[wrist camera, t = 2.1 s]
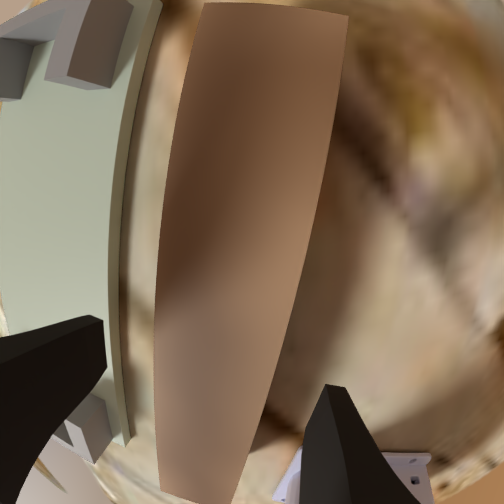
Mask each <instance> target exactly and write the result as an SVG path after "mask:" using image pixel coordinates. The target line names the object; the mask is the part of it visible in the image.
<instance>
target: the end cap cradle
mask: <svg viewBox="0 0 504 504" xmlns="http://www.w3.org/2000/svg"><path fill="white" fill-rule="evenodd" d="M162 7H163V3H162V2H161V1H160V0H48V1H46V2H43V3H41V4H39V5H37V6H35V7H33V8H31V9H29V10H27V11H25V12H23V13H21V14H19V15H17V16H15V17H13V18H12V19H10V20H8V21H6V22H4V23H3V24H1V25H0V101H3V102H2V108H1V113H0V292H1V298H2V303H3V308H4V313H5V318H6V323H7V327H8V331H9V335H14V334H18V333H22V332H27V331H31V330H34V329H38V328H41V327H45V326H48V325H52V324H55V323H58V322H62V321H65V320H69V319H72V318H76V317H80V316H84V315H89V314H90V315H92V316H95V317H97V318H99V319H102V320H103V322H104V336H105V347H106V357H107V366H108V367H107V369H106V370H105V372H104V374H103V375H102V377H101V378H100V380H99V381H98V383H97V384H96V386H95V387H94V388H93V390H92V391H91V392H90V393H89V394H88V395H87V396H86V398H85V399H84V400H83V401H82V402H81V403H80V404H79V405H78V406H77V407H76V409H75V410H74V411H73V412H72V413H71V414H70V415H69V416H68V417H67V419H66V420H65V421H64V422H63V423H62V424H61V425H60V426H59V427H58V429H57V430H56V431H55V432H54V434H53V435H52V436H51V438H52V439H53V440H55V441H56V442H58V443H59V444H61V445H63V446H64V447H66V448H67V449H69V450H70V451H72V452H74V453H76V454H77V455H79V456H80V457H82V458H84V459H85V460H87V461H89V462H91V463H92V464H95V463H96V461H97V460H98V458H99V457H100V456H101V454H102V453H103V452H104V450H105V449H106V447H107V446H108V445H109V443H110V442H111V441H113V442H115V443H117V444H119V445H121V446H123V447H126V445H127V444H128V442H129V441H130V439H131V438H130V431H129V425H128V418H127V411H126V403H125V395H124V386H123V376H122V364H121V350H120V332H119V247H120V229H121V214H122V203H123V192H124V183H125V174H126V166H127V159H128V151H129V145H130V138H131V132H132V126H133V121H134V115H135V110H136V105H137V100H138V95H139V91H140V86H141V82H142V77H143V73H144V69H145V65H146V61H147V57H148V53H149V50H150V46H151V42H152V39H153V35H154V32H155V29H156V25H157V22H158V19H159V16H160V13H161V10H162Z"/></svg>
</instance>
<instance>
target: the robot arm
mask: <svg viewBox="0 0 504 504" xmlns="http://www.w3.org/2000/svg"><path fill="white" fill-rule="evenodd" d="M107 367H108V366H107V357H106V347H105V336H104V322H103V320H102V319H99V318H97V317H95V316H92V315H90V314H89V315H84V316H80V317H76V318H72V319H69V320H65V321H62V322H58V323H55V324H52V325H48V326H45V327H41V328H38V329H34V330H31V331H27V332H22V333H18V334H14V335H10V336H6V337H1V338H0V504H16V501H17V498H18V496H19V493H20V490H21V488H22V486H23V484H24V482H25V480H26V478H27V476H28V474H29V472H30V470H31V468H32V466H33V465H34V463H35V461H36V459H37V458H38V456H39V454H40V453H41V451H42V450H43V448H44V447H45V445H46V444H47V442H48V441H49V439H50V438H51V436H52V435H53V434H54V432H55V431H56V430H57V429H58V427H59V426H60V425H61V424H62V423H63V422H64V421H65V420H66V419H67V417H68V416H69V415H70V414H71V413H72V412H73V411H74V410H75V409H76V407H77V406H78V405H79V404H80V403H81V402H82V401H83V400H84V399H85V398H86V396H87V395H88V394H89V393H90V392H91V391H92V390H93V388H94V387H95V386H96V384H97V383H98V381H99V380H100V378H101V377H102V375H103V374H104V372H105V370H106V369H107ZM430 460H431V454H430V453H389V452H381V451H380V450H379V448H378V447H377V445H376V443H375V441H374V440H373V438H372V436H371V435H370V433H369V431H368V429H367V428H366V426H365V424H364V422H363V420H362V418H361V417H360V415H359V413H358V411H357V409H356V407H355V405H354V403H353V401H352V399H351V397H350V395H349V394H348V392H347V390H346V388H345V387H340V386H334V385H328V384H325V386H324V389H323V391H322V393H321V395H320V398H319V400H318V402H317V404H316V407H315V409H314V411H313V413H312V415H311V418H310V420H309V422H308V424H307V426H306V429H305V435H304V441H303V445H302V446H300V447H299V448H298V450H297V452H296V454H295V456H294V458H293V460H292V461H291V463H290V465H289V467H288V469H287V471H286V472H285V474H284V476H283V478H282V479H281V481H280V483H279V485H278V486H277V488H276V490H275V491H274V493H273V495H272V499H273V500H274V501H278V502H284V503H285V504H435V503H434V498H433V494H432V489H431V485H430V480H429V476H428V472H427V468H426V464H427V463H428V462H429V461H430Z"/></svg>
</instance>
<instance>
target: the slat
mask: <svg viewBox="0 0 504 504" xmlns="http://www.w3.org/2000/svg"><path fill="white" fill-rule="evenodd" d="M348 20H349V16H346V15H341V14H337V13H331V12H326V11H320V10H314V9H308V8H301V7H293V6H284V5H273V4H260V3H231V2H220V3H204V6H203V10H202V13H201V17H200V20H199V24H198V27H197V31H196V35H195V38H194V42H193V46H192V50H191V54H190V58H189V62H188V66H187V71H186V75H185V79H184V84H183V88H182V93H181V98H180V103H179V108H178V113H177V118H176V124H175V129H174V135H173V140H172V146H171V153H170V159H169V165H168V172H167V179H166V187H165V194H164V202H163V211H162V220H161V229H160V239H159V250H158V263H157V277H156V293H155V316H154V409H155V430H156V446H157V459H158V470H159V480H160V489H161V491H163V492H166V493H169V494H172V495H174V496H177V497H180V498H183V499H186V500H189V501H192V502H195V503H199V504H231V501H232V499H233V496H234V493H235V491H236V488H237V485H238V482H239V480H240V477H241V474H242V471H243V468H244V466H245V463H246V460H247V457H248V454H249V451H250V448H251V445H252V442H253V439H254V436H255V433H256V430H257V427H258V424H259V421H260V418H261V415H262V412H263V408H264V405H265V402H266V399H267V395H268V392H269V389H270V386H271V382H272V379H273V376H274V372H275V369H276V365H277V362H278V359H279V355H280V352H281V348H282V345H283V341H284V337H285V334H286V330H287V326H288V323H289V319H290V315H291V312H292V308H293V304H294V300H295V296H296V292H297V288H298V285H299V281H300V277H301V273H302V268H303V264H304V260H305V256H306V252H307V248H308V243H309V239H310V235H311V230H312V226H313V222H314V217H315V213H316V208H317V203H318V199H319V194H320V189H321V184H322V179H323V175H324V170H325V165H326V159H327V154H328V149H329V144H330V138H331V133H332V127H333V122H334V116H335V110H336V104H337V98H338V92H339V86H340V79H341V73H342V66H343V59H344V52H345V44H346V37H347V29H348Z"/></svg>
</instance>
